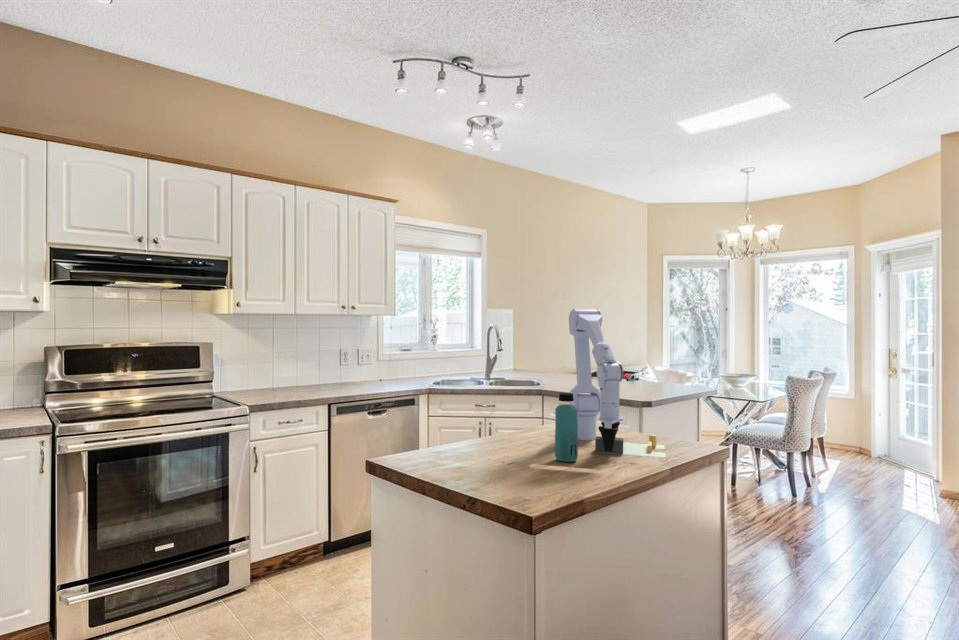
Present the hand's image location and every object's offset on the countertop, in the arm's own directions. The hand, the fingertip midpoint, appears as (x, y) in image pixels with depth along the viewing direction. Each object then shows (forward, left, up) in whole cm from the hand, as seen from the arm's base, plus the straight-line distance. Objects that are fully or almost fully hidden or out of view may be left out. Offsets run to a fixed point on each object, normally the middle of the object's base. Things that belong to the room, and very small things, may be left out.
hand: (609, 448), depth 166 cm
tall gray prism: (0, 0, -1) cm, 1 cm away
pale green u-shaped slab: (+6, +6, -2) cm, 9 cm away
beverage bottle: (-11, -14, -2) cm, 18 cm away
